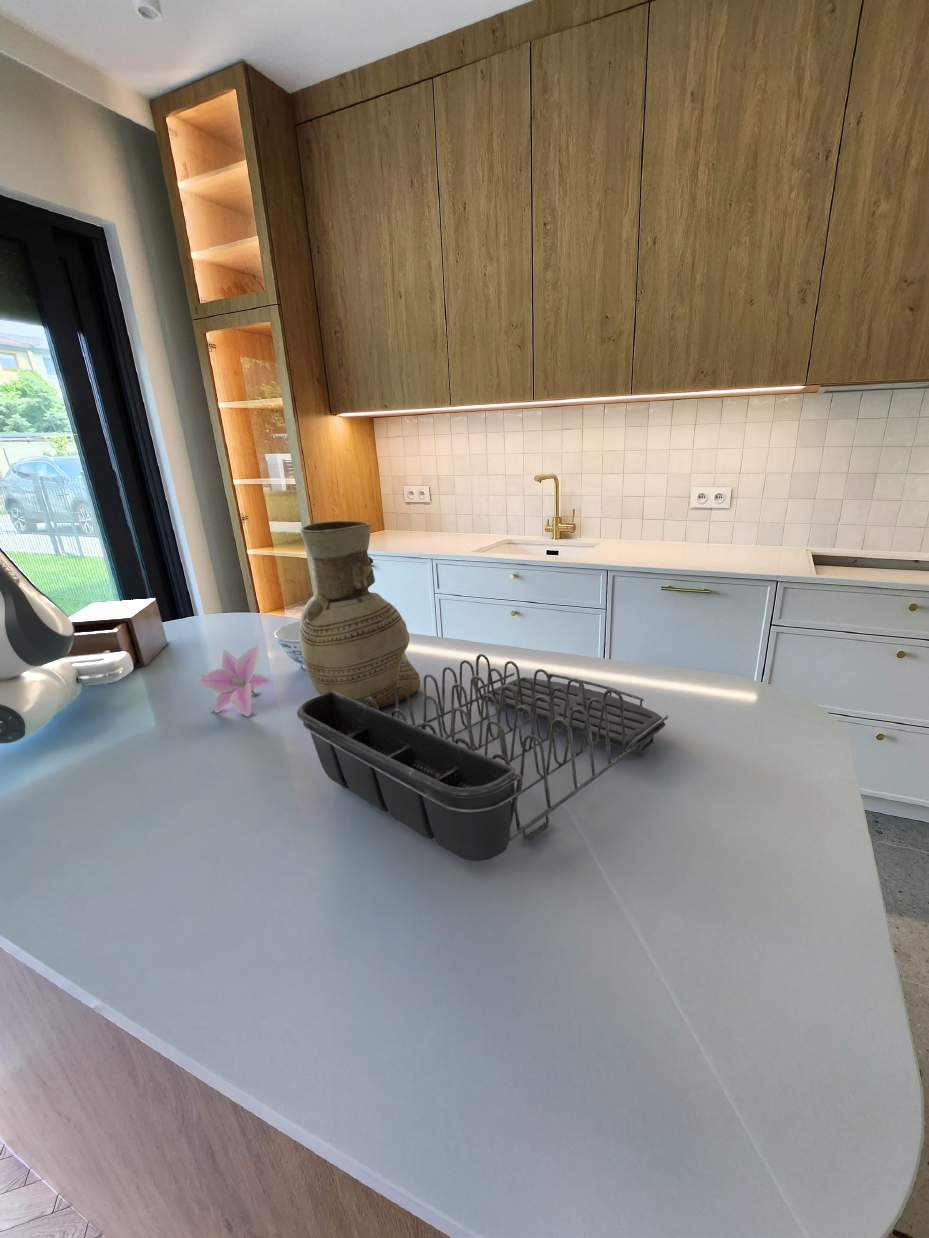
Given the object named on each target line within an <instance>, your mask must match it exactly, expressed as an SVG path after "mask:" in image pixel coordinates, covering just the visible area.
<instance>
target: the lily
mask: <svg viewBox="0 0 929 1238" xmlns="http://www.w3.org/2000/svg"><path fill="white" fill-rule="evenodd" d="M259 652H260V646H259V645H255V646H253V647H251V648H250V649H247V650H246V651H245V652H244V653H242V654H241V655H240V656H239V657H238V658H236V657H235V656H234V655H233V654H232V653H231V652H229V650H227V649H224V650H223V651H222V656H221V668H218V669H214V670H212V671H209V672H207V673H204V674H202V675H201V676H199V677H198V678H197V683H199V684H200V685H201V686H203V687H205V688H207V689H209V690H211V691H213V692H217V693H218V694H217V696H216V701H215V705H214V713H215V714H216V713H219V712H220V711H222V710H223V709H225V708H226V707H228V706H229V705H231V704H232V705H233V707H235V708H236V709H237V710H238V711H239V712H240V713H241V714H242V715H244V716H245V717H250V715H251V713H252V712H251V711H252V695H253V696H254V697H256V696H257V694H256V693H255V691H256V690H258V689H260V688H264V687H265V686H267V685H270V684H271V683H272V680H271V679H269V678H268V677H266V676H264V675H262V674H260V673H257V672H255V669H256V664H257V660H258V656H259Z"/></svg>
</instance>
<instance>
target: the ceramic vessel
mask: <svg viewBox="0 0 929 1238" xmlns="http://www.w3.org/2000/svg"><path fill="white" fill-rule="evenodd" d="M371 527H372V525H371V523H369V522H366V521H358V520H332V521H331V520H329V521H322V522H321V521H320V522H314V523H311V524H308V525H305V526H302V527H301V528H300V535H301V537H302V540H303V543H304V546H305V548H306V551H307V553H308V555H309V557H310V558H311V562H312V563H311V564H312V568H313V575H314V585H315V590H316V591H315V593H314V595H313V596H312V597H311V598H310V599H309V600H308V601H307V603H306V604H305V606H304V607H303V610H302V612H301V614H300V619H299V621H300V628H299V637H300V646H301V653H302V658H303V663H304V666H305V669H304V670H305V672H306V674H307V676H308V679H309V681H310V683H311V684H312V686H313V688H314V689H315V691H316V692H317V694H318V696H319V695H321V694H324V693H327V692H332V691H335V692H337V693H340V694H342V695H344V696H346V697H348V698H351V699H353V700H355V701H357V702H360V703H362V704H364V701H365V699H366V698H367V697H371V698H372V699H374V700H375V702H376V704H377V706H378V709H382V708H384V707H389V706H391V705H394V704H396V687H397V686H399V685H402V686H404V687H405V688H406V689H407V691H408V692H409V695H410V697H412V696H414V694H416V693H417V692H418V691H419V689H420V687H421V676H420V674H419V672H418V671H417V670H416V668H415V667H414V666H413V665H412V663H411V662H410V661H409V660H408V657H407V655H406V650H407V649H408V646H409V644H410V634H409V631H408V626H407V624H406V621H405V620H404V618H403V617H402V615H401V614H400V613H401V612H399V610H398V609H397V608H396V607H395V606H394V605H393V604H392V603H391V602H390V601H388V600H386V599H385V598H383V597H382V596H381V595H380V594H379V593H378V592H372V591H371V592H370V591H369V588H370V587H371V586H373V585H374V584H375V583H376V578H375V574H374V569H373V566H372V565H373V563H374V559H373V558H372V557H371V556H369V554H368V550H369V546H370V538H371V529H372V528H371ZM406 699H407V695H406V692H405V691H404V690H403V689H402V688H399V689H398V703H399V702H401V701H403V700H406ZM407 700H408V699H407ZM367 706H369V707H371V708H374V706H373V703H372V702H371V701H367ZM374 709H375V708H374Z"/></svg>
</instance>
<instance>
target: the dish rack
mask: <svg viewBox="0 0 929 1238" xmlns="http://www.w3.org/2000/svg"><path fill="white" fill-rule="evenodd" d="M481 657H482V658H484V660H485V662H486V664H487V679H486V680H487V681H486V683H485V681H484V680H483V679H482V677H481V676H480V673H479V672H480V670H479V669H480V668H479V667H480V666H479V665H480V659H481ZM464 664H467V665H468V667H470V671H471V676H472V677H471V678H470V682H469V684H470V685H469V699H468V695H467V691H466V689H465V688H464V686H463V665H464ZM508 665H512V666H513V667H514V668H515V670H516V672H512V673H509V674H507V668H508ZM503 669H504V670H503V675H502V673H501V671H499V669H497V668H495V667H491V663H490V660H489V657H487V655H485V654H483V653H480V654H477V655H476V659H475V670H474V666H473V664H472V663H471V662H470V661H469V660H466V659H463V660H462V661H460V663H459V683H458V677H457V674H456V671H455V670H454V669H453V668H451V666H445V667H444V668H443V669H442V676H441V680H442V681H441V695H440V689H439V684H438V681H437V679H436V677H435V676H433V675H432V674H429V673H428V674H425V675H424V676H423V702H422V705H423V706H422V710H423V712H422V722H421V723H419V724H417V725H416V720H415V715H414V711H413V705H412V701H411V696H410V695H409V692H408V691H407V689H406V688H405V687H404V686H402V685H399V686H397V687H396V703H395V708H394V709H392V711H391V715H390V714H388V713H386V712H383V711H382V710H379V709H380V708H378V706H377V704H376V702H375V700H374V699H372V698H371V697H367V698H366V699H365V701H364V704H362V703H360V702H357V701H355V700H353V699H351V698H348V697H346V696H344V695H342V694H340V693H337V692H335V691H332V692H327V693H324V694H321V695H319V694H318V695H315V696H313V697H311V698H309V699H307V700H306V701H304V702H302V704H301V705H299V707H298V708H297V710H296V715H297V717H298V719H299V720H300V721H302V725H303V727H304V729H306V730H307V731H309V733H310V736H311V740H312V742H313V745H314V748H315V750H316V754H317V757H318V760H319V762H320V765H321V767H322V769H323V770H324V773H325V775H326V776H327V777H328V778H329V779H330V780H332V781H333V782H334V783H336V784H337V785H339V786H341V787H342V788H344V789H349V790H350V791H351V793H353V794H354V795H355V796H357V797H358V798H361V799H363V800H364V801H366V802H367V803H369V804H371V805H372V806H374V807H375V808H377V809H379V810H380V811H381V812H383V813H385V812H386V813H389V814H390V815H391V817H392V818H394V819H395V820H396V821H398V822H400V823H402V824H403V825H405V826H406V827H408V828H410V829H411V830H413V831H415V832H416V833H418V834H420V835H421V836H423V837H424V838H426V839H427V840H428V839H429V840H435V842H436V843H437V845H438V846H440V847H441V848H442V849H444V850H446V851H448V852H450V853H451V854H453V855H455V856H456V857H459V858H461V859H463V860H466V861H470V862H483V861H489V860H491V859H493V858H496V857H498V856H500V855H501V854H503V853H504V852H505V851H506V850H507V849H508V846H509V843H510V842H511V841H513V840H514V839H515V838H516V837H518V836H519V835H521V834H522V838H523V839H524V840H525V841H528V842H529V841H531V840H533V839H534V838H535V837H537V836H538V835H539V834H541V833H542V832H544V831H545V830H547V828H549V823H550V818H549V814H551V813H552V812H553V811H555V810H556V809H557V808H559V807H561V805H563V804H564V803H565V802H567V801H568V800H569V799H570V798H571V799H572V798H573V797H574V796H575V795H576V794H577V793H579V792H580V791H582V790H583V789H584V788H586V787H587V786H588V785H589V784H591V783H593V781H595V780H596V779H598V778H599V777H601V775H603V774H604V773H605V772H607V771H608V770H609V769H611V768H612V767H614V766H615V765H616V764H617V763H618V762H619V761H621V760H623V759H624V758H625V757H626V756H627V755H629V754H630V753H631V752H634V750H636V749H638V752H640V753H643V752H644V751H645V750H647V749H648V748H649V747H650V746H651V745H652V744H654V736H655V734H658V733H659V732H660V731H661V730H662V729H663V728H665V727H666V723H665V721H666V720H667V719H669V715H667V714H666V715H665V716H664V717H662V716H661V715H660V714H659V713H658V712H656V711H653V710H651V709H650V708H649V709H648V708H646V707H644V706H643V702H644V701H645V699H644V698H643V697H642V696H638V695H635V694H632V693H629V692H626V691H623V690H619V689H617V688H616V687H615V688H614V687H611V686H608V685H603V684H599V683H595V682H592V681H588V680H584V679H579V678H577V677H570V676H565V675H561V674H556V673H548V672H547V671H546V670H545V669H543V668H538V669H536V670H535V671H534V674H533V677H527V676H521V674H520V669H519V667H518V665H517V663H515V661H512V660H508V661H506V662H505V663H504V667H503ZM447 670H448V671H450V672H451V673H452V676H453V681H454V684H453V685H452V687H451V697H450V698H451V701H450V709H449V710H447V711H445V707H446V705H445V704H446V702H445V701H446V699H445V695H446V687H445V684H446V679H445V678H446V671H447ZM492 672H495V673H496V674H497V675H498V676H499V678H497V679H494V680H493V675H492ZM538 673H543V674H544V675H545V677H546V679H547V680H546V679H540V678H537V676H538ZM515 675H516V679H512V680H510V681H509V682H507V679H508V678H511V677H513V676H515ZM427 678H430V679H431V680H432V681H433V683H434V688H435V691H436V696H437V700H436V699H435V697H434V696H431V695H427ZM552 678H558V679H563V680H567V683H563V682H559V681H552V680H551V679H552ZM479 681H480V683H481V685H480V686H479ZM499 682H500V686H497V687H494V684H497V683H499ZM571 683H575V684H578V685H574V684H571ZM584 684H585V685H589V686H593V687H597V688H601V689H603V690H605V692H601V691H598V690H593V689H590V688H586V687H585V685H584ZM490 687H491V690H490ZM399 688H402V689H403V690H404V691H405V692H406V695H407V703H408V710H409V715H410V719H411V723H410V722H408V721H407V717H406V715H405V714H404V712H403V711H402V710H401V709H400V706H399V705H400V704H399V702H398V689H399ZM473 689H474V693H473ZM482 690H483V691H482ZM482 692H483V693H482ZM612 693H613V694H614V695H615V696H613V695H612ZM455 694H456V698H457V704H458V706H456V707H455ZM473 694H475V698H474V699H473V697H474V696H473ZM462 695H463V696H462ZM622 695H623V696H626V697H630V698H631V699H632V698H633V699H635V700H639V704H637V703H635V702H631V701H628V700H626V699H623V696H622ZM616 696H617V697H616ZM463 697H464V703H463V704H462V698H463ZM428 700H430V701H431V702H433V704H434V706H435V707H434V708H435V712H436V716H434V717H432V718H430V719H428V718H427V716H428V715H427V711H428V710H427V705H428V704H427V702H428ZM468 700H469V701H468ZM367 701H371V702H372V703H373V706H374V708H375V709H374V708H371V707H369V706H367ZM474 703H476V707H477V713H478V716H479V721H477V722H474V723H472V711H473V709H472V707H473V705H474ZM489 703H490V704H493V705H494V707H495V713H493V714H491V715H490V710H489V709H490V708H489ZM464 707H465V709H464ZM508 709H509V710H511V711H514V717H513V727H512V726H511V725H510V722H509V715H508ZM484 710H485V712H484ZM457 712H459V715H460V721H461V725H462V726H463V727H464V728H462V729H460V730H458V731H456V717H457V716H456V715H457ZM503 712H504V716H505V724H506V727H507V728H508V729H509V730H507V731H506V732H505V730H504V728H503V726H502V723H501V722H502V713H503ZM484 713H485V715H484ZM520 713H521V714H522V719H523V720H524V721H525V722H522V723H521V719H520ZM449 714H450V729H449V733H448V732H447V728H446V724H445V723H446V722H445V716H447V715H449ZM527 716H529V718H527ZM400 717H401V718H402V719H400ZM493 717H496V720H491V718H493ZM464 718H465V719H464ZM436 720H437V724H438V725H437V726H438V731H439V735H438V732H437V730H436V728H435V727H434V725H432V722H434V721H436ZM465 720H466V723H465ZM486 720H487V723H486V726H485V737H484V738H485V739H484V743H483V741H482V740H483V729H484V727H483V726H484V725H483V723H484V721H486ZM539 720H541V721H546V722H547V726H546V734H545V738H543V737H542V735H541V731H540V723H539ZM528 723H530V734H527V735H525V736H524V738H523V735H522V733H523V732H522V727H523V726H525V725H526V724H528ZM477 725H479V736H478V746H477V745H476V744H475V739H474V733H473V727H474V726H477ZM492 725H495V727H497V732H496V736H494V733H493V730H492ZM535 725H536V726H535ZM557 726H560V727H561V728H560V729H559V728H558V727H557ZM427 727H428V728H429V729H430V730H431V731H428V730H427ZM535 727H536V730H535ZM517 729H518V730H517ZM466 730H467V733H468V740H466V739H465V737H456V735H458V734H460V733H462V732H464V731H466ZM566 730H567V735H566V742H565V748H564V756H563V761H562V762H560V761H559V760H558V756H557V745H556V736H557V735H559V734H560V733H562V732H564V731H566ZM517 731H518V738H519V744H520V748H521V753H519V754H517V755H515V745H516V733H517ZM555 731H556V732H555ZM573 731H575V732H576V733H577V732H578V733H580V734H582V736H581V743H580V748H579V751H576V749H575V747H574V738H573ZM510 733H512V738H511V746H510V757H509V753H508V747H507V739H506V735H508V734H510ZM536 733H537V736H536ZM444 735H445V736H446V737H444ZM489 736H490V738H491V739H490V740H489ZM450 738H451V740H448V739H450ZM593 739H595V740H594V741H593ZM497 740H499V744H500V750H501V753H494V754H493V755H492V757H489V756H488V751H489V750H488V749H489V744H491V743H493V742H495V741H497ZM528 740H529V742H528ZM548 740H549V743H548V751H547V761H546V758H545V749H544V748H545V747H544V745H543V743H545V742H547V741H548ZM585 740H587V741H588V746H587V747H585V746H584V745H585ZM601 741H603V742H605V747H606V755H607V765H605V766H604V767H603V768H601V769H600V770H599V771H597V772H596V771H595V770H596V768H595V767H596V766H595V757H594V746H596V744H598V743H599V742H601ZM646 741H647V743H645V742H646ZM459 743H461V744H463V745H465V746H466V747H465V746H463V745H460V744H459ZM482 743H483V744H482ZM527 744H528V748H527ZM643 744H644V745H643ZM611 745H614V746H616V747H619V748H622V752H623V753H622V754H621V755H619V756H617V757H616V758H615V759H613V760H612V755H611ZM538 746H539V750H540V751H539V753H540V760H541V768H542V772H541V771H540V764H539V756H538V749H537V747H538ZM584 747H585V748H584ZM482 748H484V754H482V753H480V752H477V751H479V750H480V749H482ZM532 750H533V757H534V763H535V771H536V773H537V775H538V776H539V777H540V778H538V779H536V780H535V781H533V782H532V783H531V784H529V785H527V786H526V787H525V788H523V782H524V772H525V761H526V754H527V753H528V752H531V751H532ZM569 751H570V753H569V754H570V758H568V752H569ZM586 751H589V759H590V769H591V777H590V778H588V779H587V780H585V781H584V782H582V783H581V784H579V785H578V776H577V767H576V759H575V758H577V757H579V756H580V755H581V754H583V753H585V752H586ZM552 752H553V760H554V762H555V764H556V765H558V766H556V767H555V768H553V769H552V770H550V767H551V759H552ZM514 755H515V756H514ZM518 758H521V759H520V769H519V770H520V771H519V773H517V772H516V768H515V767H514V766H512V764H511V763H512V762H513V761H515V760H517V759H518ZM498 759H500V760H502V761H504V762H502V761H499V760H498ZM569 762H570V763H571V772H572V773H571V774H572V781H573V785H574V786H573V787H574V789H573V790H572V791H570V792H569V793H568V794H566V795H565V796H563V797H562V798H561V799H560V800H558V801H557V802H556V803H554V804H553V805H552V802H551V795H550V794H551V793H550V787H549V780H548V776H550V775H552V774H553V773H555V772H556V771H557V770H559V769H560V768H562V767H564V766H565V765H567V764H568V763H569ZM542 781H543V787H544V794H545V801H546V807H547V808H545V809H544V810H543V812H541V813H540V814H538V815H537V816H536V817H534V818H533V819H531V820H530V821H528V822H527V823H526V824H524V825H522V826H521V822H520V817H519V809H518V801H519V796H521V795H522V794H524V793H525V792H526V791H528V790H529V789H531V788H532V787H534V786H535V785H537V784H538V783H540V782H542ZM515 782H516V785H515ZM513 818H515V825H516V830H515V831H514V832H513V833H512V834H511V827H512V822H513ZM543 818H545V821H543V822H542V823H541V824H540V825H538V826H537V827H535V828H534V829H533V830H531V831H529V832H528V833H526V831H527V830H528V829H529V828H530V827H532V826H533V825H535V824H536V823H538V822H539V821H541V820H542V819H543Z"/></svg>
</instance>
